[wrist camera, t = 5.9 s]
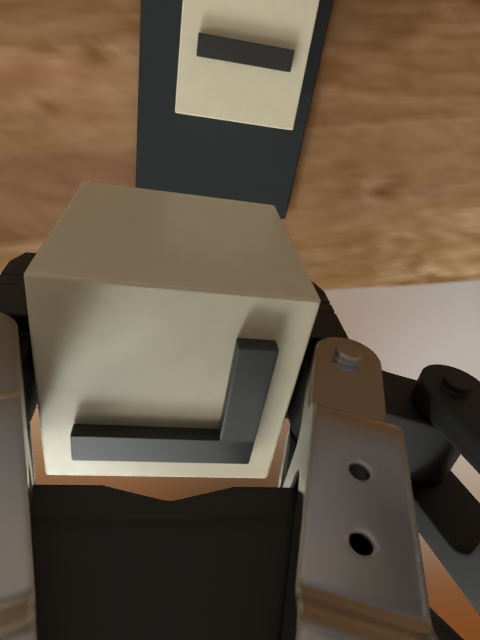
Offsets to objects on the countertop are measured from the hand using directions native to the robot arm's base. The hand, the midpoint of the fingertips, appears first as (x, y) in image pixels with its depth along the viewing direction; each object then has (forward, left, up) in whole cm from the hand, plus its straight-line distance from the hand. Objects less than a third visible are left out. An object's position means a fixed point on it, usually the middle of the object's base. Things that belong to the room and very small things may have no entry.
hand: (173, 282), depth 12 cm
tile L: (0, 0, 0) cm, 0 cm away
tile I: (-5, +2, -13) cm, 14 cm away
